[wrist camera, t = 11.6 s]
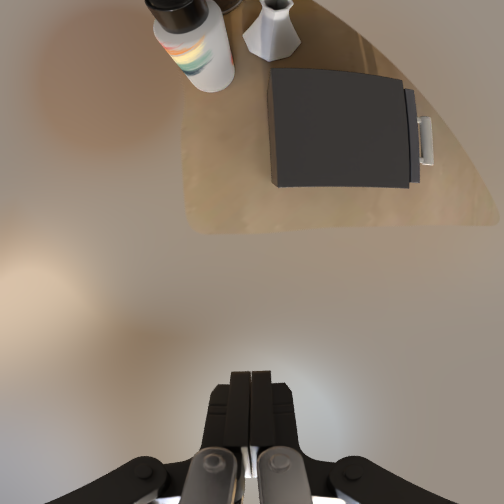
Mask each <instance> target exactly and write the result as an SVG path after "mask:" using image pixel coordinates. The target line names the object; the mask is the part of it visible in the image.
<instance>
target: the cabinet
mask: <svg viewBox="0 0 504 504" xmlns="http://www.w3.org/2000/svg"><path fill="white" fill-rule="evenodd" d="M267 102H268V118H269V136H270V155H271V176H272V183H273V184H274V185H275V186H277V187H278V188H283V187H384V188H408V189H409V145H408V129H407V117H406V107H405V98H404V90H403V83H402V80H398V79H393V78H388V77H382V76H376V75H370V74H363V73H355V72H346V71H336V70H323V69H304V68H271V70H270V77H269V84H268V91H267Z"/></svg>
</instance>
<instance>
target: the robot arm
mask: <svg viewBox="0 0 504 504" xmlns="http://www.w3.org/2000/svg"><path fill="white" fill-rule="evenodd" d="M213 1H214V2H215V3H216V4H217V5H218V6H219V8H220V9H221V12H222V15H224V14H226V13H228V12H230V11H232V10H234V9H235V8H237V7H238V6H239V5H240V4H241V2H242V1H243V0H213ZM252 468H253V477H254V478H256V477H257V479H258V489H259V499H260V504H457V503H455V502H452V501H450V500H448V499H445V498H443V497H440V496H438V495H436V494H434V493H431V492H429V491H427V490H425V489H423V488H421V487H418V486H416V485H414V484H412V483H410V482H408V481H406V480H404V479H403V478H401V477H399V476H397V475H395V474H393V473H391V472H389V471H387V470H386V469H383V468H382V467H380V466H378V465H376V464H375V463H373V462H371V461H370V460H368V459H366V458H364V457H361V456H348V457H345V458H342V459H340V460H338V461H337V462H336V463H334V462H325V461H318V460H314V459H312V458H310V457H308V456H306V455H305V454H304V453H303V452H302V450H301V449H300V447H299V442H298V435H297V426H296V419H295V413H294V405H293V397H292V391H291V390H290V389H289V387H288V386H287V385H286V384H285V383H271V371H252V379H251V372H249V371H245V372H231V377H230V385H228V384H227V385H226V384H218V385H217V386H216V388H215V389H214V390H213V391H212V393H211V395H210V401H209V406H208V412H207V417H206V422H205V428H204V433H203V439H202V445H201V448H200V450H199V451H198V452H197V453H196V454H195V455H194V457H192V458H190V459H188V460H186V461H182V462H176V463H169V464H162V462H160V461H159V460H158V459H156V458H153V457H149V456H141V457H137V458H135V459H132V460H131V461H129V462H127V463H126V464H124V465H122V466H120V467H119V468H117V469H116V470H113V471H112V472H110V473H108V474H106V475H104V476H102V477H100V478H99V479H97V480H95V481H93V482H91V483H89V484H87V485H85V486H83V487H81V488H79V489H77V490H75V491H72V492H70V493H68V494H66V495H64V496H62V497H60V498H57V499H55V500H52V501H50V502H48V503H45V504H243V498H244V491H245V478H252Z"/></svg>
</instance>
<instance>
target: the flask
mask: <svg viewBox="0 0 504 504" xmlns="http://www.w3.org/2000/svg"><path fill="white" fill-rule="evenodd" d="M260 2H261V4H262V10H261V13H260V15H259V17H258V18H257V19H256V20H255V21H254V23H253V24H252V25H251V26H250V27H249V28H248V29H247V31H246V32H245V33H244V34H243V35H242V36H243V38H244V40H245V42H246V44H247V46H248V49H249V51H250V52H252V53H253V54H255V55H257V56H259V57H261V58H263V59H265V60H267V61H268V62H270V61H274V60H277V59H281V58H285V57H290V56H291V54H292V53H293V52H294V51H295V49H296V48H297V47H298V46H299V45H300V43H301V41H300V39H299V37H298V35H297V33H296V31H295V29H294V27H293V25H292V23H291V21H290V17H289V9H290V8H291V7H292V6H293V4H294V3H293V2H292V0H260Z"/></svg>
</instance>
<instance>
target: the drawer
mask: <svg viewBox="0 0 504 504" xmlns="http://www.w3.org/2000/svg"><path fill="white" fill-rule="evenodd" d="M403 90H404V98H405V107H406V117H407V129H408V145H409V182H412V183H420V162H421V163H422V164H423V165H434V161H433V138H432V124H431V118H430V117H427V116H421V117H417V113H416V104H415V95H414V90H410V89H403ZM418 123H420V137H421V157H419V137H418Z"/></svg>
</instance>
